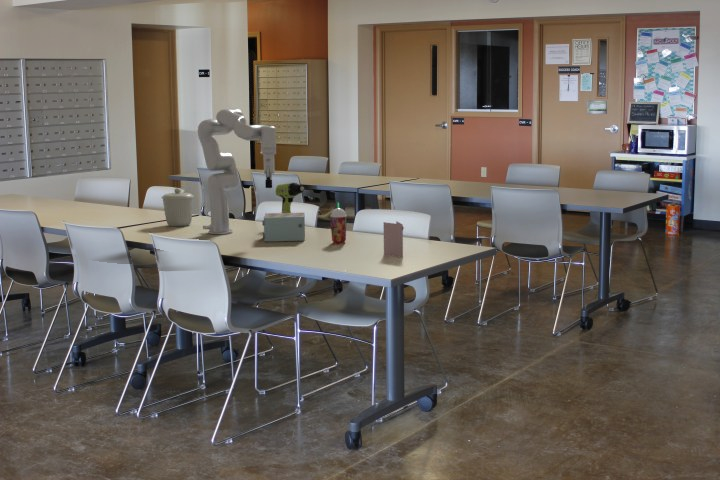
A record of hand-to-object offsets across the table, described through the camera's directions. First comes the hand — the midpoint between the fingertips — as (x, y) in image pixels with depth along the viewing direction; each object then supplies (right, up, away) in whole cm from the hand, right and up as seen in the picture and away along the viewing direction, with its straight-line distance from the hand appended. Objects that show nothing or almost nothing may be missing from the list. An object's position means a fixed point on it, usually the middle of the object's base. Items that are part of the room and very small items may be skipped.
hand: (268, 187), depth 473 cm
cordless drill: (+9, -20, +41) cm, 47 cm away
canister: (-56, -18, +58) cm, 83 cm away
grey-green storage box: (+8, -27, -1) cm, 28 cm away
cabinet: (+7, -25, +9) cm, 28 cm away
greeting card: (+61, -33, -42) cm, 81 cm away
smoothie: (+35, -28, -7) cm, 45 cm away
